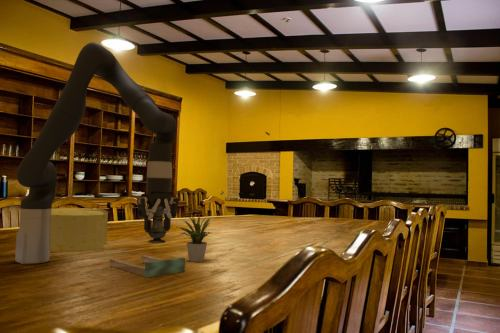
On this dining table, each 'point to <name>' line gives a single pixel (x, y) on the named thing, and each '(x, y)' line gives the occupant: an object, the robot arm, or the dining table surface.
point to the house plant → (196, 240)
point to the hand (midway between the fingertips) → (157, 231)
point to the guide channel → (151, 266)
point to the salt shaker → (157, 227)
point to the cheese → (78, 229)
